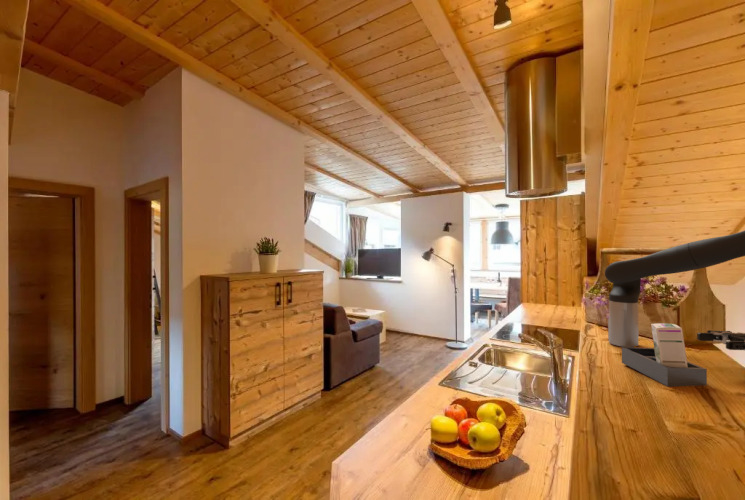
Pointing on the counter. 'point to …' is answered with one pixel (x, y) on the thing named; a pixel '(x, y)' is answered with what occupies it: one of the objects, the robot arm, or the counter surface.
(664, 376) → the caddy
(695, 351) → the counter surface
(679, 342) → the syrup box
